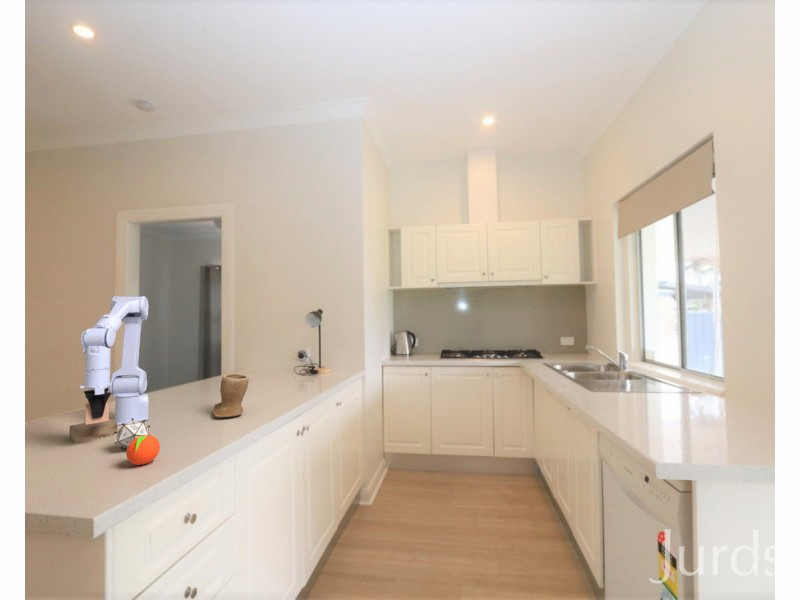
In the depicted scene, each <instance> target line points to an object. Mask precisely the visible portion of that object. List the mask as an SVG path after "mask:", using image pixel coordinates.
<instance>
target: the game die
mask: <svg viewBox="0 0 800 600" xmlns="http://www.w3.org/2000/svg"><path fill="white" fill-rule="evenodd" d="M146 421H147V420H146V419H145V420H143V421H134V418H132V421H130V422H128V423H126V424H124V423H122V424H121V427H120V428H119V430H117V432H114V433H117V435H116V440H117V441H114V443H113V444H114V445H117V444H119V445H120V446H121V447H120V450H123V449H124V448H126V449H127V448H128V446H129V444H130V443H131V442H132V441H133V440H134V439H135V438H137V437H139V436H143V435H150V432H149V428H151V425H147V424H145V422H146ZM151 436H153V435H152V434H151Z"/></svg>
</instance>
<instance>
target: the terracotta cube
mask: <svg viewBox="0 0 800 600" xmlns="http://www.w3.org/2000/svg"><path fill="white" fill-rule="evenodd" d="M109 411H110V403H109V402H108V400H107V402H106V405H105V410H104V414H103V416H102V417H100V418H94V419H93V417H92V414H91V408H90V404H89V402H87V403H84V423H85V424H86V425H87V424H93V423H99V422H105V421H109V418H110V415H109V413H110V412H109Z"/></svg>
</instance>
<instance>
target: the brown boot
mask: <svg viewBox="0 0 800 600" xmlns="http://www.w3.org/2000/svg"><path fill="white" fill-rule="evenodd" d="M249 381H250V378H249V376H247V375H245V374H241V373H233V372H231V373H225V374H224V375H223V376H222V378H221V381H220V382H221V383H220V388H219V389H220V390H219V392H220V398H221V401H220V402H218V403H216V404H215V405H214V407H213V416H215V418H231V417H237V416H241V415H242V414H243V413H244V408H243V407H242V402H243V399H244V397H245V395H246V392H247V390H248V387H249Z"/></svg>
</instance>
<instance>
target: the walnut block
mask: <svg viewBox="0 0 800 600" xmlns="http://www.w3.org/2000/svg"><path fill="white" fill-rule="evenodd" d="M113 419H114V418H111V417H109V421H105V422H99V423H93V424H87V425H86V424H85V422H83V423H78V424H71V425H69V432H68V433H69V434H68V435H69V436H68V438H69V440H70V441H71V442H72V443H74V444H78V443H83V442H84V443H85V442H88V441H93V439H94V440H99V439H102V438H101V437H103V438H107V437H106V436H108V437H111V436H110V435H113V436H115V435H114V434H117V433H114V432H118V425H117V422H116V421H114V420H113ZM98 438H99V439H98Z"/></svg>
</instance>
